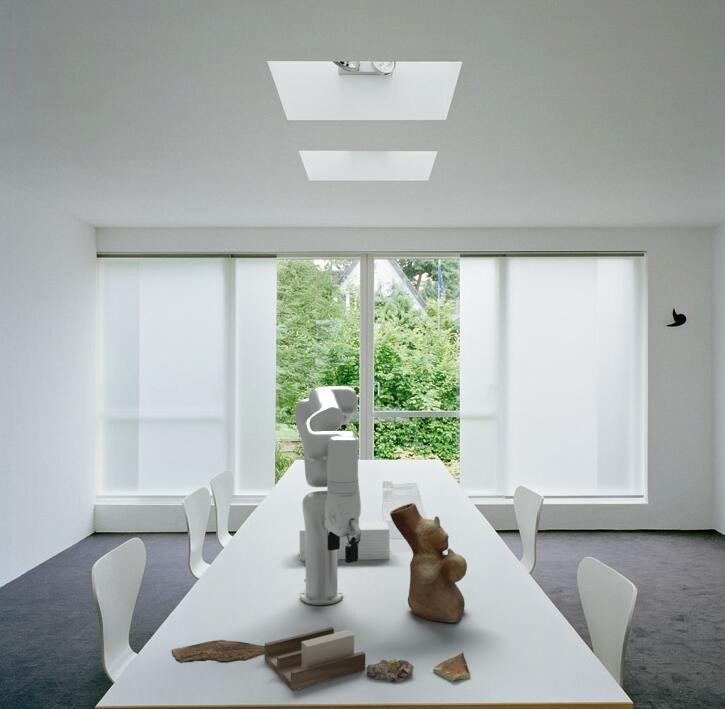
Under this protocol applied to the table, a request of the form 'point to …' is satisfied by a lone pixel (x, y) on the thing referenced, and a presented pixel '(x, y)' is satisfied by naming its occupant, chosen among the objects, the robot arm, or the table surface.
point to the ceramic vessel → (431, 567)
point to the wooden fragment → (218, 651)
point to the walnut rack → (288, 665)
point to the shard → (453, 668)
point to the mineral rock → (390, 670)
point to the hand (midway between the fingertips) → (342, 555)
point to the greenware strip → (326, 648)
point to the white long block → (370, 544)
